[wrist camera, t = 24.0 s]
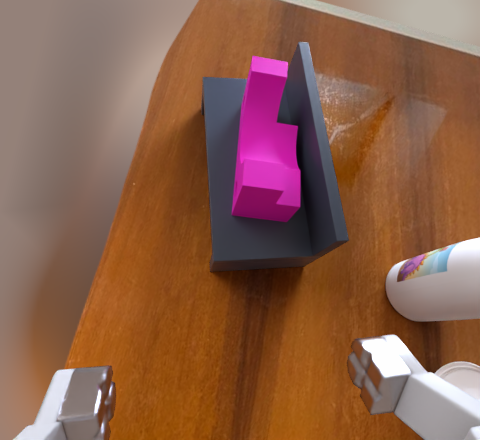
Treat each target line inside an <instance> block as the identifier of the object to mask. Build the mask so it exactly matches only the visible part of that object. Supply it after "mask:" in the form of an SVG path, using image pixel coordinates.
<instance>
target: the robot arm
mask: <svg viewBox="0 0 480 440" xmlns="http://www.w3.org/2000/svg"><path fill="white" fill-rule="evenodd" d="M351 348H352V349H353V352H352V353H351V354H350V355H349V356H348V360H347V369H348V373H349V376H350V378H351V380H352V382H353V384H354V385H355V386H357V387H358V388H360V389H361V394H360V397H361V399H362V400H363V402H364V404H365V406H366V407H367V409H368V411H369V413H370V415H374V414H382V413H391V412H394V414H395V415H396V416H397V417H399V418H400V419H401V420H402V421H403V422H404V423H406V424H407V425H408V426H409V427H410V428H411V429H413V430H414V431H415V432H416V433H417V434H418V435H419V436H421V437H422V438H423V439H424V440H480V401H479V400H478V399H476V398H474V397H473V396H471V395H469V394H468V393H466V392H464V391H462V390H461V389H459V388H457V387H456V386H454V385H452V384H451V383H449V382H447V381H445V380H444V379H442V378H440V377H439V376H437V375H435V374H434V373H432V372H427V371H426V370H425V369H424V368H423V367H422V365H421V364H420V363H419V362H418V361H417V359H416V358H415V357H414V356H413V354H412V353H411V352H410V351H409V350H408V348H407V347H406V346H405V345H404V343H403V342H402V341H401V340H400V339H399V337H397V336H396V335H386V336H375V337H367V338H358V339H354V340H353V341H352V345H351ZM112 376H113V371H112V366H99V367H86V368H76V369H65V370H57V372H56V373H55V374H54V376H53V378H52V381H51V383H50V385H49V388H48V390H47V393H46V395H45V398H44V400H43V402H42V405H41V407H40V410H39V412H38V415H37V417H36V419H35V422H34V424H33V425H30V426H27V427H26V428H25V429H24V430H23V431H22V432H21V433H20V434H18V435H17V436H16V437H15V438H14V439H13V440H109V438H110V433H111V430H110V425H109V421H110V420H111V419H112V418H113V416H114V411H115V403H116V387H115V383H114V382H112Z"/></svg>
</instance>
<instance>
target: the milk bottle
mask: <svg viewBox="0 0 480 440" xmlns="http://www.w3.org/2000/svg"><path fill="white" fill-rule="evenodd" d="M386 292H387V296H388V299H389V301H390V303H391V304H392V306H393V307H394V308H395V310H396V311H398V312H399V313H400V314H401V315H403V316H404V317H406V318H408V319H410V320H413V321H445V320H463V319H479V318H480V238H476V239H471V240H467V241H463V242H460V243H456V244H453V245H450V246H447V247H444V248H441V249H438V250H434V251H431V252H428V253H426V254H423V255H420V256H417V257H414V258H411V259H408V260H405V261H402V262H400V263H398V264H396V265H395V266H393V267H392V269H391V270H390V271H389V273H388V276H387V278H386Z"/></svg>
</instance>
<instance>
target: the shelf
mask: <svg viewBox="0 0 480 440" xmlns="http://www.w3.org/2000/svg"><path fill="white" fill-rule="evenodd" d="M246 83H247V79H235V78H214V77H203V85H202V103H201V113H202V115H204V118H205V135H206V152H207V170H208V187H209V204H210V222H211V239H212V256H211V260H210V272H217V271H234V270H252V269H269V268H286V267H303V266H306V265H307V264H309V263H311V262H313V261H314V260H316V259H318V258H320V257H321V256H323V255H325V254H327V253H328V252H330V251H332V250H333V249H335V248H337V247H339V246H340V245H342V244H344V243H346V242H347V241H349V238H348V234H347V229H346V224H345V219H344V214H343V209H342V204H341V200H340V195H339V190H338V185H337V180H336V175H335V170H334V166H333V161H332V156H331V151H330V146H329V141H328V137H327V132H326V127H325V122H324V117H323V112H322V107H321V103H320V98H319V93H318V88H317V83H316V78H315V73H314V69H313V64H312V59H311V54H310V49H309V44H308V43H304V42H298V45H297V48H296V50H295V53H294V56H293V58H292V61H291V64H290V66H289V69H288V72H287V80H286V83H285V86H284V90H283V93H282V97H281V102H280V106H279V111H278V116H277V122H276V123H282V124H289V125H295V126H298V130H297V138H296V159H297V165H298V167H299V169H300V208H299V209H298V210H297V211H296V212H295V214H294V215H293V216H292V217H291V218H290V219H289V220H288V222H281V221H273V220H265V219H257V218H249V217H241V216H233V215H232V205H233V194H234V183H235V172H236V161H237V150H238V138H239V127H240V116H241V105H242V101H243V96H244V92H245V88H246Z"/></svg>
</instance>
